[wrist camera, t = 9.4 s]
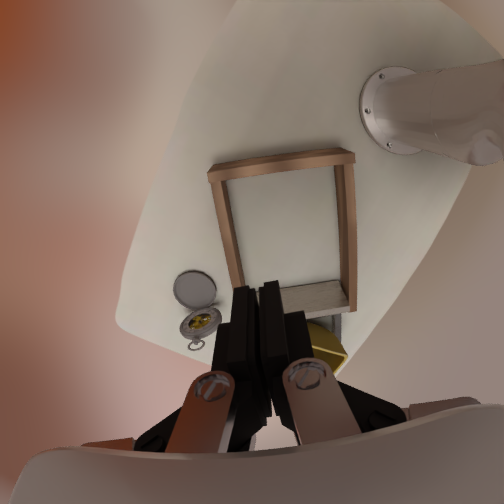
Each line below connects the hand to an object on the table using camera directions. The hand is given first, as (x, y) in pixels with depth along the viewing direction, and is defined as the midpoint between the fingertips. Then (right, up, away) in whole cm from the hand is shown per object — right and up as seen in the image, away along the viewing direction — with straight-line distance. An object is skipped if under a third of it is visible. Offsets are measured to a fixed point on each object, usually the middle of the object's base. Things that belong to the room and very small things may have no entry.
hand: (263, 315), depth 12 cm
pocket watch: (-9, -4, +36) cm, 38 cm away
